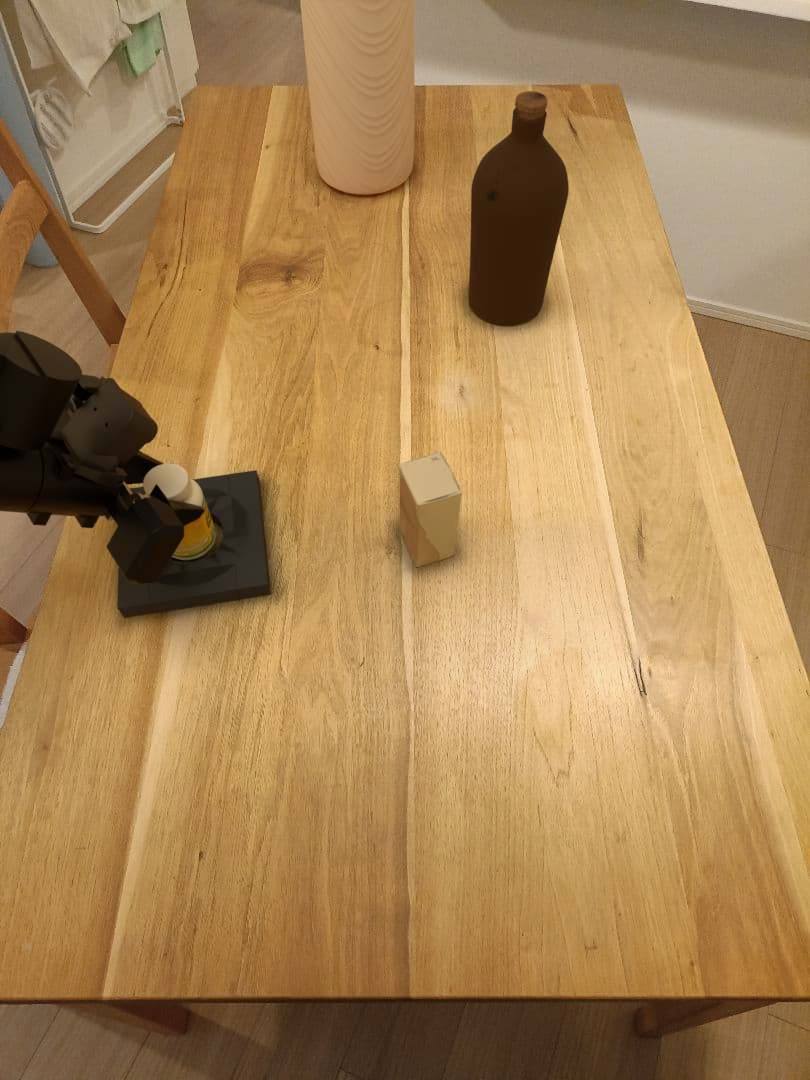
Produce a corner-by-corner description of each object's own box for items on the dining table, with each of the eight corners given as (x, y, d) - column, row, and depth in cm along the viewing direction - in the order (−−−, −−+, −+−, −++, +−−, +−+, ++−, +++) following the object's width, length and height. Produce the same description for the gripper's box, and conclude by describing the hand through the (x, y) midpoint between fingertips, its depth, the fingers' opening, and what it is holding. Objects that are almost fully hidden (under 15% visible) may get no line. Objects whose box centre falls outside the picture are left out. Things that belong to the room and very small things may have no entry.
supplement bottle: (154, 531, 77) (125, 471, 69) (204, 509, 78) (181, 447, 70) (174, 571, 74) (147, 513, 66) (226, 547, 76) (205, 487, 68)
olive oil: (541, 336, 94) (580, 133, 73) (456, 323, 95) (469, 120, 74) (551, 280, 99) (590, 77, 79) (471, 269, 101) (487, 66, 80)
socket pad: (123, 618, 73) (117, 608, 71) (125, 501, 80) (119, 489, 79) (271, 594, 74) (267, 584, 73) (259, 481, 82) (256, 469, 80)
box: (398, 529, 78) (396, 460, 69) (437, 517, 79) (441, 447, 70) (416, 570, 76) (417, 505, 66) (457, 557, 76) (463, 490, 67)
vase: (413, 199, 109) (414, -69, 83) (312, 198, 109) (282, -70, 83) (415, 144, 117) (416, -118, 91) (321, 143, 117) (296, -119, 91)
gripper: (124, 469, 51) (285, 490, 64) (17, 318, 59) (179, 364, 72) (56, 590, 55) (221, 587, 68) (-35, 433, 63) (127, 457, 76)
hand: (186, 493), depth 71 cm, fingers closed on supplement bottle, 5 cm apart
